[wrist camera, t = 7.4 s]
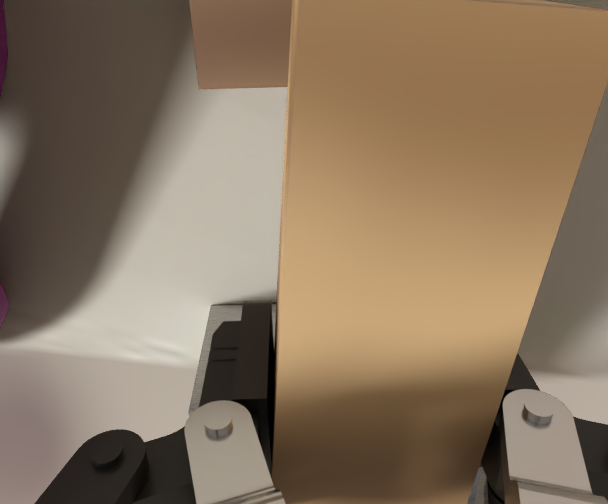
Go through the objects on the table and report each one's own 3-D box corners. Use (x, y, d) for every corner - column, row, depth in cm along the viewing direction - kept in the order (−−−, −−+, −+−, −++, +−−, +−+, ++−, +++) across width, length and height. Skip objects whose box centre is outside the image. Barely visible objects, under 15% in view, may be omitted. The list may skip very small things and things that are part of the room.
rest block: (197, -70, 16) (180, -76, 13) (463, -75, 16) (499, -82, 13) (211, 70, 18) (198, 89, 15) (448, 64, 18) (476, 81, 15)
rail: (293, -23, 10) (300, -13, 6) (489, -8, 11) (630, 13, 6) (265, 499, 18) (260, 671, 14) (380, 502, 18) (411, 670, 14)
